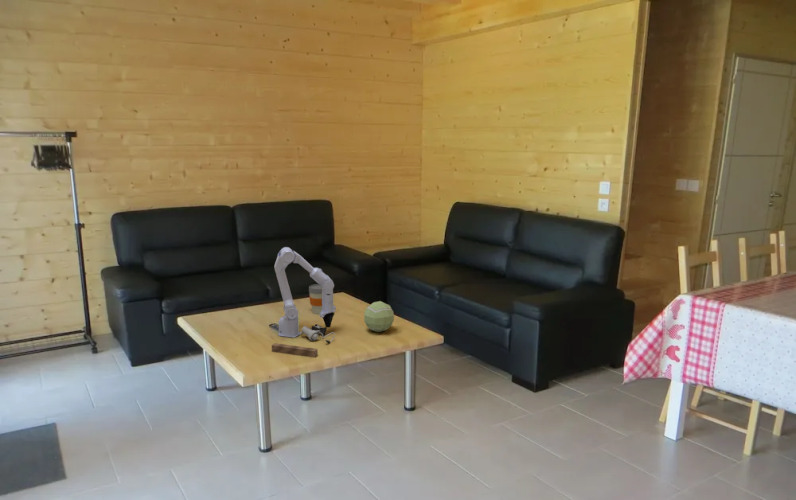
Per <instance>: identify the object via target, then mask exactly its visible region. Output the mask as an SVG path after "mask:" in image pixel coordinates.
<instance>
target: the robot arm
mask: <svg viewBox="0 0 796 500" xmlns="http://www.w3.org/2000/svg"><path fill="white" fill-rule="evenodd" d="M292 263H293V264H299V265H300V266H301V267H302V268H303V269H304V270H306V271H307V272H308V273H309V277H310V278H311V279H312V280H314V282H316V284H320V285H321V286H322V310H321V313H320V314H319V318H322V319H323V322H324V326H325V327H326V328H331V326H332V321H333V318H334V316H335V312H336V309H337V308H336V305H334V288H335V283H334V280H333V279H332V278H330V276H329V275H328V274H326V273H324V271H323V269H322V268H319V267H313V266H312V265H311V264H310V263H309V262H308V261H307V260H306V259H304V257H303V256H302V255H300V253H298V252H297V251H295V250H293V249H292V248H290V247H288V246H284V247H282V248H281V249H280V250H279V252H278V253H277V257H276V260H275V262H274V272H275V275H276V279H277V282H278V286H279V291H280V294H281V297H282V301H283V312H284V316H281V317H279V318H278V319H279V320H278V334H277V335H278V336H277V337H286V338H291V339H292V338H297V337H298V336H299V335H301V334H303V332H302V331H300V328H299V326H300V325H299V316H298V315H299V310H298V309H297V306H296V304H295V303H294V300H293V296H292V293H291V289H290V285H289V282H288V278H287V273H286V268H287V267H288V265H290V264H292Z"/></svg>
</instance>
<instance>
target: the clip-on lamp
mask: <svg viewBox="0 0 796 500" xmlns="http://www.w3.org/2000/svg"><path fill="white" fill-rule="evenodd" d="M327 329H328V327H326V326H325V327H323V326H321V325H319V324H318V323H316V324H314V325H312V326H311V328H310V327H308V326H306V325H304V326H303V327H301V332H302V334H304V335H306V336H307V338H308V339H309V341H313V342H315V341H317V339H318V338H319V335H320V336H321V337H322V339H324V338H326V337H328V336H330V335H331V334H333V337H332V338H331V340H328V339H325V340H324V342H326V343H329V344H330V343H332V342H333V340H334V338H335V331H332V332H330V333H328V334H326V332H327Z"/></svg>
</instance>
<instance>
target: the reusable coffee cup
mask: <svg viewBox="0 0 796 500" xmlns="http://www.w3.org/2000/svg"><path fill="white" fill-rule="evenodd" d="M308 293H309V295H308V296H309V297H308V298H309V303H310V305H311V311H312V314H314V315H320V313H321V310H322V286H321V285H320V284H318V283H314V284H310V285H309V286H308Z"/></svg>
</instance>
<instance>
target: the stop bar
mask: <svg viewBox="0 0 796 500" xmlns="http://www.w3.org/2000/svg"><path fill="white" fill-rule="evenodd" d="M271 352H273V353H275V352H276V353H281V354H287V355H288V354H289V355H295V356H301V357H309V358H316V357H317V356H318V348H313V347H306V346H298V345H291V344H284V343H277V342H276V343H273V344H272V345H271Z"/></svg>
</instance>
